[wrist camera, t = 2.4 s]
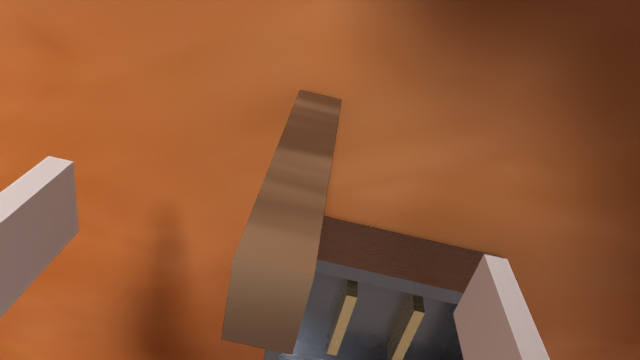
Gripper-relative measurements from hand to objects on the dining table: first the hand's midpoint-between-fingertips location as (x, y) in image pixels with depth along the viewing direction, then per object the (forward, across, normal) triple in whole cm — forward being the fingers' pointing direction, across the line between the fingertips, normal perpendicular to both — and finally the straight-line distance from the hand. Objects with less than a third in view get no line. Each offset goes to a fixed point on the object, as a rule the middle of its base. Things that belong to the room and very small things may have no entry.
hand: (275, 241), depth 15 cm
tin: (+9, +6, -10) cm, 15 cm away
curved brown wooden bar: (+9, 0, 0) cm, 9 cm away
